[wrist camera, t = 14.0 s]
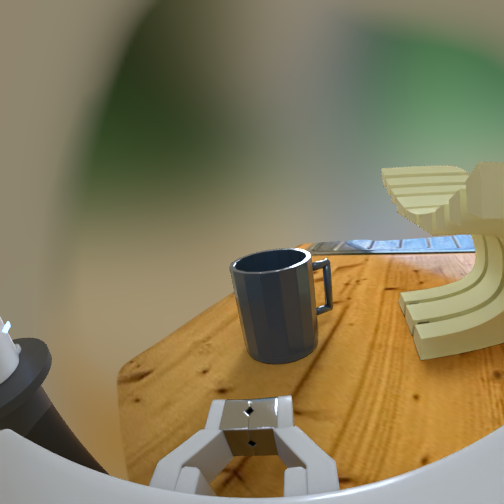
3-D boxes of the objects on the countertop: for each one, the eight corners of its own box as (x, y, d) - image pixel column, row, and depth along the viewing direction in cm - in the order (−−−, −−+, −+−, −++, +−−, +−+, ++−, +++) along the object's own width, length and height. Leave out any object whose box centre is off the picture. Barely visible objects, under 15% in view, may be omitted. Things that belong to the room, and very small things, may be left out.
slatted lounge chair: (565, 375, 8) (604, 175, 4) (439, 424, 13) (478, 162, 9) (468, 270, 36) (467, 165, 32) (388, 279, 41) (381, 168, 37)
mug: (260, 373, 25) (242, 280, 23) (238, 337, 33) (222, 260, 31) (352, 337, 28) (350, 251, 26) (316, 311, 36) (309, 239, 33)
